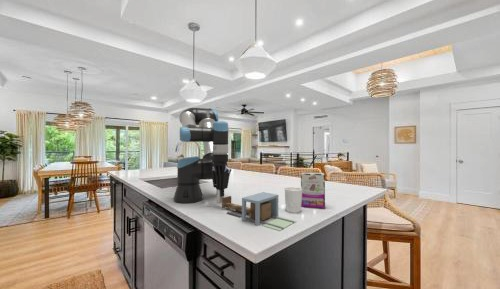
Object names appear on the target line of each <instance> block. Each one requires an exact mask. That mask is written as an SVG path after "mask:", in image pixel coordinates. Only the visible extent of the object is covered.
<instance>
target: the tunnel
mask: <svg viewBox="0 0 500 289" xmlns="http://www.w3.org/2000/svg"><path fill="white" fill-rule="evenodd" d="M266 201H267V202H271V217H270V218H271V219H281V220H285V221H289V222H293V224H295V223H294V221H295V220H294V221H291V220H292V219H290V220H287V219H288V218H287V219H283V218H284V217H283V218H279V217H280V216H279V194H276V193H270V192H264V191H263V192H258V193H254V194H251V195H248V196H247V195H246V196H244V197H241V206H242V215H239V214H236V213H232V211H227V212H226V213H230V214H233V215H236V216H240V218H241V221H242V222H247V220H249V221H252V222H254V223H255V225H256V226H257V227H258V226H259V225H261V224H262V225H264V224H267V225H271V226H274V227H278V228H281V229H282V230H281V231H283V230H284V229H283V227H280V226H277V225H274V224H270V223H268V221H267V222H266V221H264V220H263V221H261V220H260V203H263V202H266ZM247 203H255V219H254V218H251V217H249V216H247V215H246V207H247ZM236 216H235V217H236Z"/></svg>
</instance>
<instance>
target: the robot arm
mask: <svg viewBox="0 0 500 289" xmlns="http://www.w3.org/2000/svg"><path fill="white" fill-rule="evenodd" d="M178 120H179V123H180V124H181V126H180V127H179V140H180V142H185V143H196V142H197V143H199V142H200V143H203V156H202V158H201V157H200V156H199V155H196V156H188V157H187V156H186V157H182V158H179V159H178V160H177V166H176V168H177V177H176V178H177V181H176V182H177V183H176V184H177V186H176V189H175V193H174V195H173V201H174V203H179V204H191V203H192V204H193V203H198V202H201V201H203V197H204V194H203V192H202V188H201V186H200V181H201V180H203V181H204V180H212V184H213V188H215V189H216V196H217V197H216V198H217V199H216V203H217V204H222V198H224V197H225V189H228V186H229V182H230V181H229V180H230V174H231V173H232V168H229V167H228V162H229V154H228V153H229V130H230V129H229V123H228V122H226V121H219V114H218V112H217V110H216V109H214V108H205V107H202V108H201V107H188V108H186V109H184V110H182V112H181V113H180V114H179V119H178Z"/></svg>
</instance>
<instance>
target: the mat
mask: <svg viewBox="0 0 500 289" xmlns="http://www.w3.org/2000/svg"><path fill="white" fill-rule="evenodd" d="M278 217H279V218H283V219H287V220H291V221H294V223H293V222H289V221H285V220H281V219H275V218H273V220H271V221H267V223H270V224H274V225H277V226H280V227H283V230H284V229H286V228H288V227H290V226H291V225H293V224H295V223H297V220H293V219H290V218H285V217H282V216H278ZM262 227H265V228H269V229H271V230H275V231H279V232H280V231H283V230H282V229H281V228H278V227H274V226H271V225H267V224H262Z"/></svg>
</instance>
